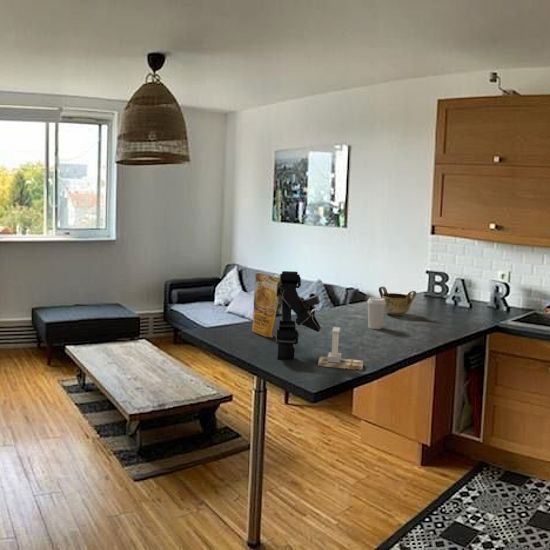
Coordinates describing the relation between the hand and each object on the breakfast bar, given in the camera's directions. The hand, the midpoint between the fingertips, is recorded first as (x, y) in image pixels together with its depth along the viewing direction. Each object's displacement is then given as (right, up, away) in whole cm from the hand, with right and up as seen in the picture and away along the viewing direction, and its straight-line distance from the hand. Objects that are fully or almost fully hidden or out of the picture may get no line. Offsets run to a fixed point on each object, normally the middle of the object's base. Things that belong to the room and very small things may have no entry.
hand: (319, 330), depth 245 cm
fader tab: (+6, -12, +1) cm, 13 cm away
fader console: (+9, -14, +1) cm, 16 cm away
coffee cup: (+33, -5, +68) cm, 76 cm away
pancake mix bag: (-23, -6, +45) cm, 51 cm away
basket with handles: (+50, -1, +102) cm, 114 cm away
